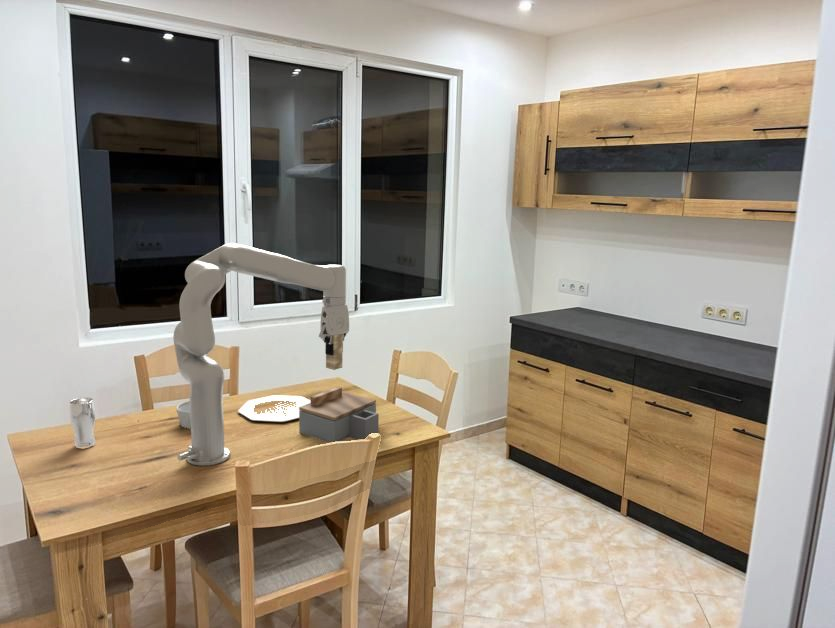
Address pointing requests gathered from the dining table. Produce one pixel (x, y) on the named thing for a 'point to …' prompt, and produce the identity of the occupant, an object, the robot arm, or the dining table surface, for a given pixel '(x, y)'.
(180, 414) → the ramekin
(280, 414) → the plate
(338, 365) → the rectangular block
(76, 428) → the beer glass
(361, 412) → the toolbox
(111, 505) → the dining table surface
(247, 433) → the dining table surface
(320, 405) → the lid
